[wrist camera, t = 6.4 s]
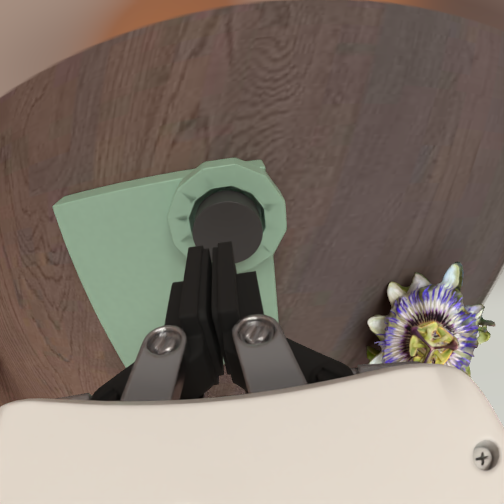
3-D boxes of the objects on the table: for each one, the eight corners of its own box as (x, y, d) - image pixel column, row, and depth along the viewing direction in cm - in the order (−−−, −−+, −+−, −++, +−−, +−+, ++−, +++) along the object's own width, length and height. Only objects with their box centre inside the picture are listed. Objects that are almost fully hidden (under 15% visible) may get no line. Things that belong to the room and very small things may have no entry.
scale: (61, 186, 18) (36, 205, 15) (272, 146, 18) (281, 158, 15) (130, 354, 26) (123, 383, 23) (286, 339, 27) (292, 369, 24)
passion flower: (369, 257, 29) (456, 241, 18) (435, 299, 31) (517, 299, 19) (324, 361, 27) (401, 400, 16) (399, 390, 29) (476, 421, 17)
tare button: (189, 195, 16) (185, 207, 15) (256, 185, 16) (259, 196, 15) (201, 252, 18) (199, 268, 16) (262, 244, 18) (266, 259, 17)
